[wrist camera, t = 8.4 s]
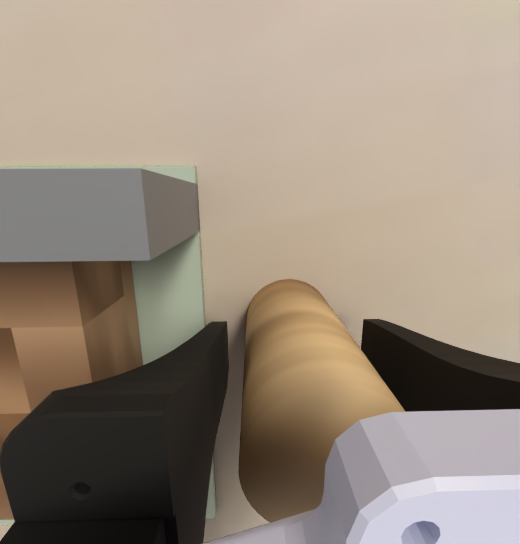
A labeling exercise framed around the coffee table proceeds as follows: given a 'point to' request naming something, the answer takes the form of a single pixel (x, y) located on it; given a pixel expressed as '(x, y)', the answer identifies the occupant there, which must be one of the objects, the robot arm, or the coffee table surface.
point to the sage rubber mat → (166, 294)
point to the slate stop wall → (93, 214)
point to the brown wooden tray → (61, 333)
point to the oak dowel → (299, 397)
